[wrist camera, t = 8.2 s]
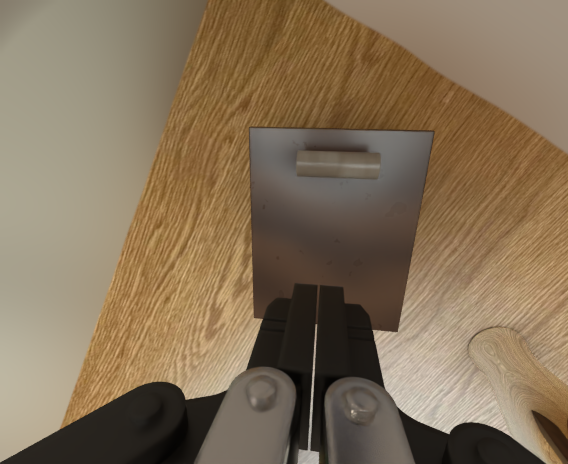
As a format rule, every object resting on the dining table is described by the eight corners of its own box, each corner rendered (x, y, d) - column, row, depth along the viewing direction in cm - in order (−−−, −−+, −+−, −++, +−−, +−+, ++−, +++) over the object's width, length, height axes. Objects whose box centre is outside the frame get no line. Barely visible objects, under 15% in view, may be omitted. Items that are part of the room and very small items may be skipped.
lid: (251, 126, 22) (234, 129, 18) (431, 130, 21) (456, 134, 17) (255, 313, 28) (243, 346, 24) (396, 327, 27) (407, 364, 23)
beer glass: (450, 347, 37) (525, 486, 23) (501, 312, 34) (619, 443, 20) (490, 380, 38) (586, 534, 24) (542, 348, 35) (683, 498, 21)
